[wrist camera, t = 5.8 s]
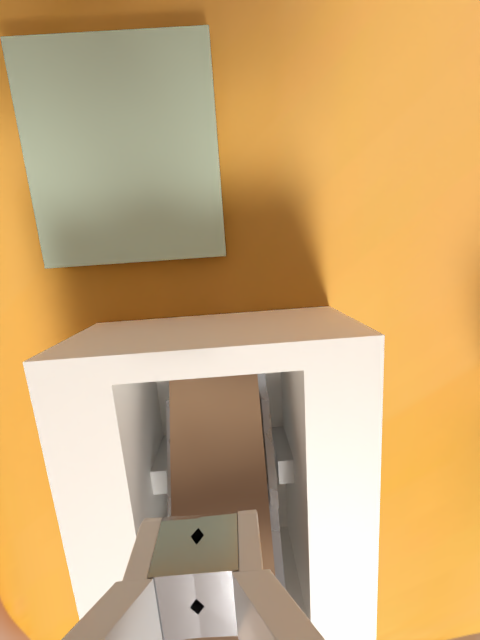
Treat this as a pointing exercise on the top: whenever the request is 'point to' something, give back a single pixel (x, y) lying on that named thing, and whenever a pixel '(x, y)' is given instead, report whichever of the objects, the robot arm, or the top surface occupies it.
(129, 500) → the pocket jig
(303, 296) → the top surface
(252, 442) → the walnut slab
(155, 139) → the sage pad
